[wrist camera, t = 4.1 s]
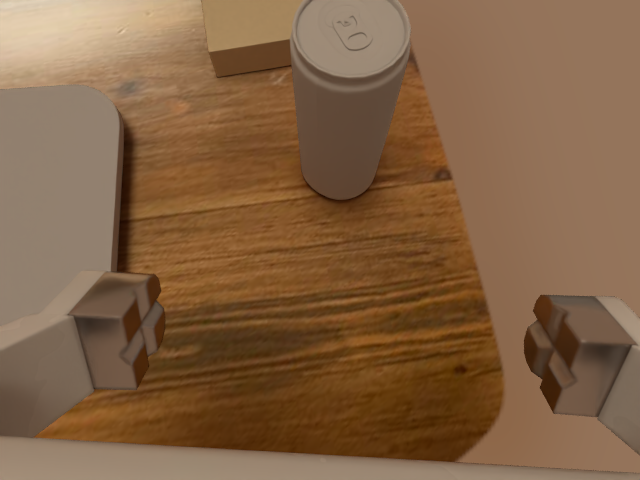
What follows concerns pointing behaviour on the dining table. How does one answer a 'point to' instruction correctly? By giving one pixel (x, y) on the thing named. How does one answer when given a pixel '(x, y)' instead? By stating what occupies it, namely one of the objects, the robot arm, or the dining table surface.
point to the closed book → (248, 34)
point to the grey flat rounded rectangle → (56, 191)
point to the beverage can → (346, 88)
